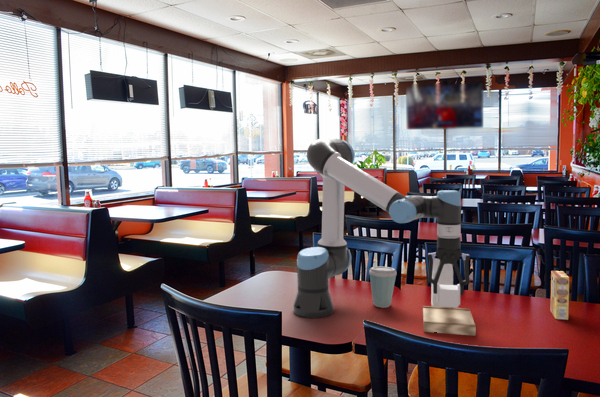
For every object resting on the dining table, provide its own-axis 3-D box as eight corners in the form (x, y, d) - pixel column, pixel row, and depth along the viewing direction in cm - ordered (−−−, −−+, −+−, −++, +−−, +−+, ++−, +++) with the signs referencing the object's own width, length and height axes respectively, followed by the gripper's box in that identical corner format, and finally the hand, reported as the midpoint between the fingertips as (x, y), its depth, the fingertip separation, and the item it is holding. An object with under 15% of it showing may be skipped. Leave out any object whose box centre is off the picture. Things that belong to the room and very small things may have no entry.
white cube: (439, 306, 150) (439, 289, 150) (438, 301, 156) (438, 284, 156) (458, 307, 149) (458, 289, 148) (456, 302, 155) (456, 285, 154)
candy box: (568, 320, 155) (570, 277, 154) (555, 319, 157) (556, 276, 155) (562, 312, 164) (563, 270, 162) (549, 311, 165) (550, 270, 164)
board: (423, 331, 148) (423, 321, 147) (422, 314, 163) (423, 305, 163) (475, 335, 144) (475, 325, 143) (469, 318, 159) (469, 308, 159)
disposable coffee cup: (369, 300, 181) (369, 263, 179) (396, 301, 179) (396, 264, 177) (368, 309, 170) (367, 270, 169) (396, 310, 168) (397, 271, 167)
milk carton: (452, 311, 166) (453, 261, 164) (432, 310, 167) (433, 260, 166) (450, 305, 173) (450, 257, 171) (431, 304, 174) (431, 256, 172)
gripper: (419, 237, 149) (419, 305, 151) (480, 239, 145) (479, 308, 147) (419, 233, 157) (419, 298, 159) (477, 235, 152) (476, 301, 154)
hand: (448, 303), depth 153 cm, fingers closed on white cube, 6 cm apart
